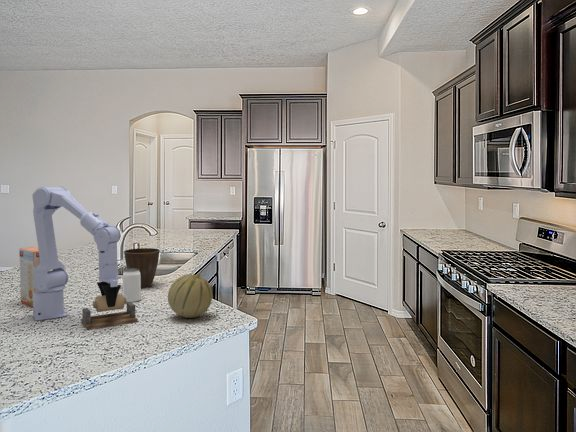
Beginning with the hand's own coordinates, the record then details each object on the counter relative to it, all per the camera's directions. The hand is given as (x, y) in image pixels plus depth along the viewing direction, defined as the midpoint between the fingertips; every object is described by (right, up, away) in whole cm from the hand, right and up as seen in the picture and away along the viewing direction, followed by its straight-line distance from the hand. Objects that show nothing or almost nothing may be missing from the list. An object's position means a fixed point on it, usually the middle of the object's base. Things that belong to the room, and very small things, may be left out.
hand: (109, 304), depth 158 cm
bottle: (0, -2, 0) cm, 2 cm away
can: (-2, -4, +29) cm, 29 cm away
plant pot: (-5, -2, +54) cm, 55 cm away
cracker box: (-36, -4, +24) cm, 44 cm away
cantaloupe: (+25, -6, +6) cm, 27 cm away
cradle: (0, -6, 0) cm, 6 cm away
